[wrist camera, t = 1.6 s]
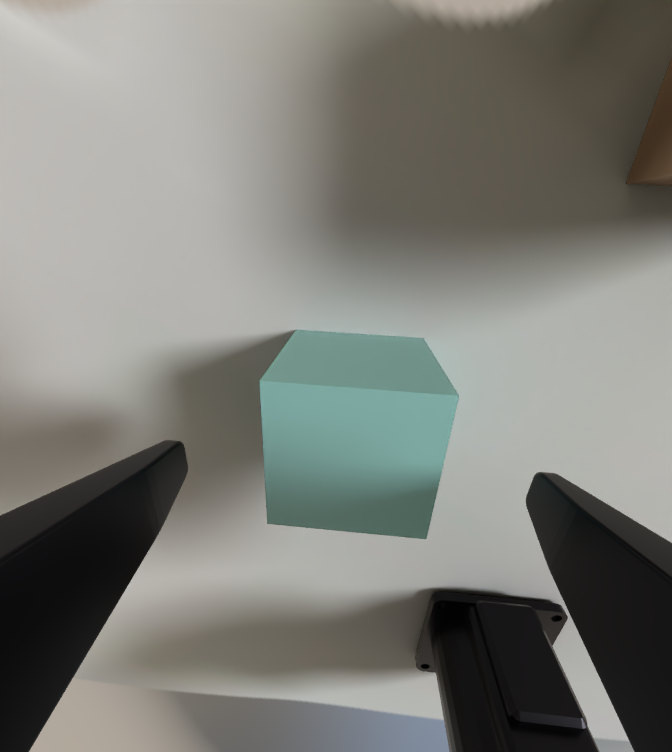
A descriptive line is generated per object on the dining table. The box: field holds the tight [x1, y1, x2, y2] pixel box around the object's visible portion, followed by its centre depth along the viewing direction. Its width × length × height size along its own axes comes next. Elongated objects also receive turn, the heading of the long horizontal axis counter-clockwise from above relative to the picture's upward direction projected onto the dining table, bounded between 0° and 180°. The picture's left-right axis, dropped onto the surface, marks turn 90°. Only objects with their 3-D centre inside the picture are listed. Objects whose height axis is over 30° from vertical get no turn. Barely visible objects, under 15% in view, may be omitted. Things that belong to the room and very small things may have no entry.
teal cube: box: [259, 330, 459, 539], centre depth 10 cm, size 4×4×4 cm
